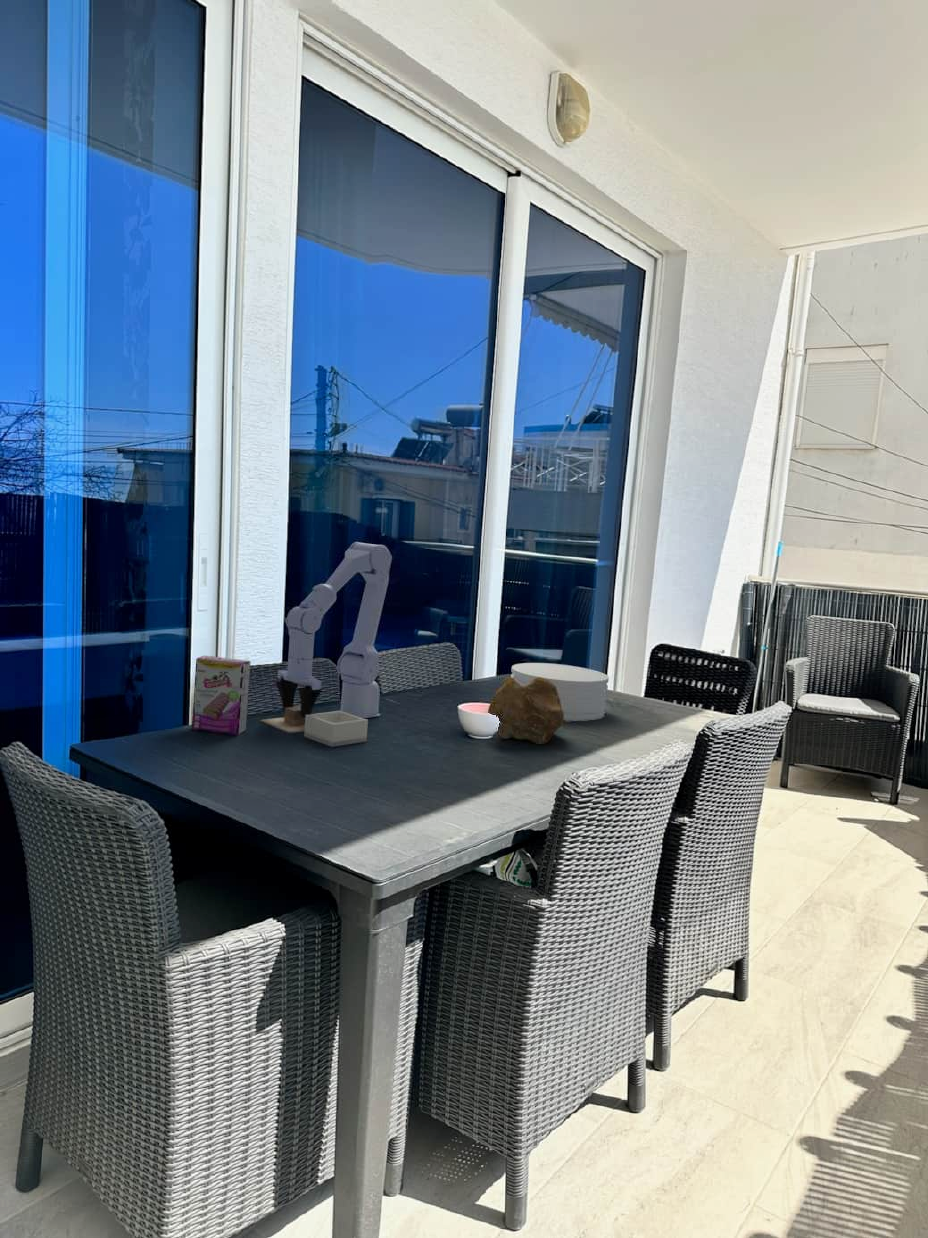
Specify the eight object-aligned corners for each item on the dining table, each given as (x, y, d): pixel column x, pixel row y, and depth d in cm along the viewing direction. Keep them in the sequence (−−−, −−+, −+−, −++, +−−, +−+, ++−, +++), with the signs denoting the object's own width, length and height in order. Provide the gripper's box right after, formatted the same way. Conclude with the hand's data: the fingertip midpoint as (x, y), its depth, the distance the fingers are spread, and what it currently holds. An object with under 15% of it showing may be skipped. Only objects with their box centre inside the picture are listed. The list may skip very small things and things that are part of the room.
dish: (338, 731, 208) (340, 710, 207) (366, 741, 201) (368, 719, 200) (304, 736, 200) (305, 714, 200) (331, 746, 194) (333, 724, 193)
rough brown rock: (530, 756, 204) (542, 694, 202) (474, 734, 214) (485, 675, 212) (581, 745, 222) (592, 688, 220) (527, 725, 232) (538, 671, 230)
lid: (301, 719, 219) (302, 701, 219) (331, 729, 211) (332, 711, 210) (260, 724, 210) (261, 705, 210) (289, 735, 202) (290, 716, 202)
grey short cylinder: (491, 700, 262) (495, 662, 261) (571, 699, 274) (575, 663, 273) (538, 723, 237) (542, 681, 235) (623, 721, 249) (628, 681, 247)
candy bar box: (190, 730, 197) (194, 658, 195) (199, 725, 202) (203, 654, 200) (239, 735, 196) (243, 663, 194) (246, 730, 201) (251, 659, 199)
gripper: (268, 653, 211) (265, 708, 212) (305, 663, 201) (301, 722, 203) (292, 651, 216) (289, 706, 217) (329, 662, 206) (325, 718, 208)
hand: (296, 713), depth 210 cm, fingers open, 7 cm apart
